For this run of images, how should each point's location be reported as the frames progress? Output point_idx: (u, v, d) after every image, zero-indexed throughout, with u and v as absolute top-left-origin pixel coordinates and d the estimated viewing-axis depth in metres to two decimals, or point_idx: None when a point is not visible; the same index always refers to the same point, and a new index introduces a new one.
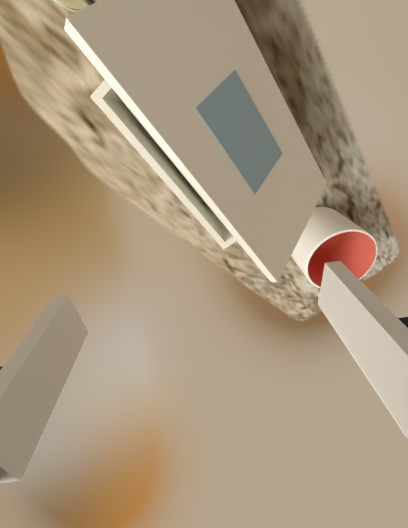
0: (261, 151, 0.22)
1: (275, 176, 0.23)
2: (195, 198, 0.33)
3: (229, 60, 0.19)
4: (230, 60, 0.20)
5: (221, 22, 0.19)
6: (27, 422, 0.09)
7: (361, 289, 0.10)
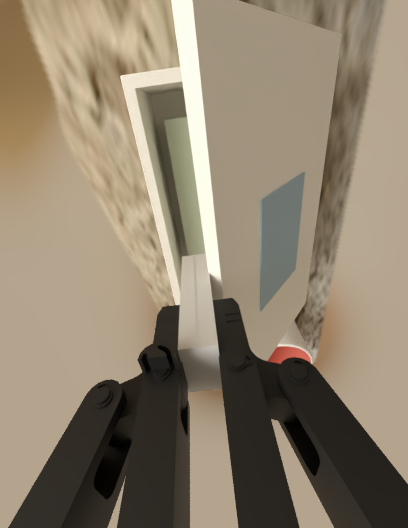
0: (284, 263, 0.18)
1: (281, 292, 0.20)
2: (175, 242, 0.28)
3: (305, 159, 0.16)
4: (305, 160, 0.16)
5: (317, 117, 0.16)
6: None
7: (203, 276, 0.12)
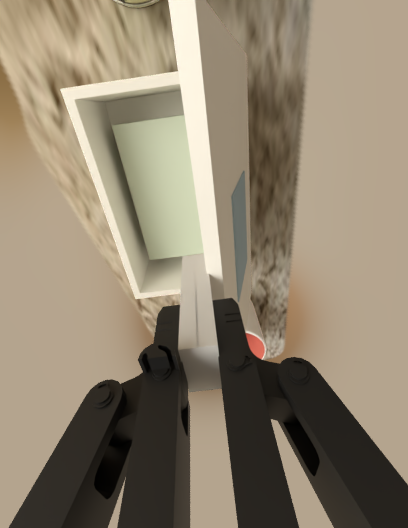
0: (242, 255, 0.20)
1: (243, 281, 0.21)
2: (133, 236, 0.31)
3: (243, 159, 0.18)
4: (243, 160, 0.18)
5: (244, 123, 0.18)
6: None
7: (203, 276, 0.12)
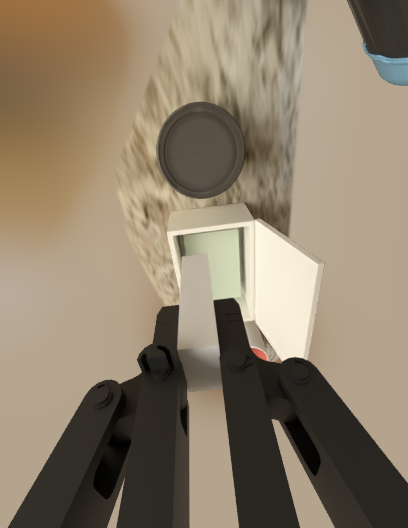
0: None
1: None
2: None
3: None
4: None
5: None
6: None
7: (204, 275, 0.12)
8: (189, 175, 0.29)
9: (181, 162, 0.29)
